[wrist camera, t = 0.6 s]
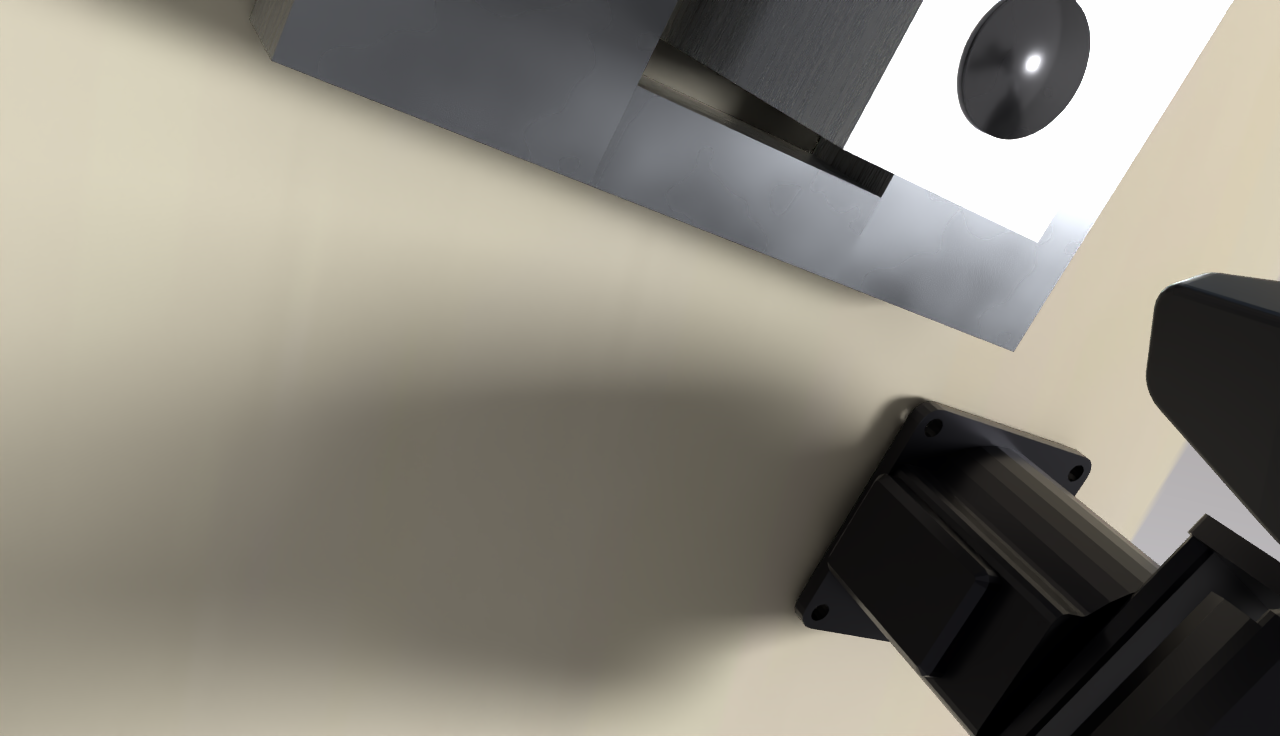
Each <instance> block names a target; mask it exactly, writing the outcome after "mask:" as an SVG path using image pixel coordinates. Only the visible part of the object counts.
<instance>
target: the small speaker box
mask: <svg viewBox="0 0 1280 736" xmlns="http://www.w3.org/2000/svg"><path fill="white" fill-rule="evenodd" d="M1185 1H1186V0H678V1H677V3H676V6H675V8H674V10H673V12H672V14H671V16H670V18H669V20H668V22H667V24H666V26H665V28H664V30H663V32H662V35H661V37H660V38H661V39H662V40H664V41H666V42H667V43H669V44H671V45H672V46H674V47H676V48H677V49H679V50H681V51H682V52H684V53H685V54H687V55H689V56H690V57H692V58H694V59H695V60H697V61H699V62H700V63H702V64H704V65H705V66H707V67H709V68H710V69H712V70H713V71H715V72H717V73H718V74H720V75H722V76H723V77H725V78H727V79H728V80H730V81H732V82H733V83H735V84H737V85H738V86H740V87H741V88H743V89H745V90H746V91H748V92H750V93H751V94H753V95H755V96H756V97H758V98H760V99H761V100H763V101H765V102H766V103H768V104H769V105H771V106H773V107H774V108H776V109H778V110H779V111H781V112H783V113H784V114H786V115H788V116H789V117H791V118H792V119H794V120H796V121H797V122H799V123H801V124H802V125H804V126H806V127H807V128H809V129H811V130H812V131H814V132H816V133H817V134H819V135H820V136H822V137H824V138H825V139H827V140H829V141H830V142H832V143H834V144H835V145H837V146H839V147H840V148H842V149H844V150H846V151H848V152H850V153H852V154H854V155H856V156H858V157H860V158H862V159H865V160H867V161H869V162H871V163H873V164H875V165H877V166H879V167H881V168H883V169H885V170H888V171H890V172H892V173H894V174H896V175H898V176H900V177H902V178H904V179H906V180H908V181H910V182H913V183H915V184H917V185H919V186H921V187H923V188H925V189H927V190H929V191H931V192H933V193H936V194H938V195H940V196H942V197H944V198H946V199H948V200H950V201H952V202H954V203H956V204H959V205H961V206H963V207H965V208H967V209H969V210H971V211H973V212H975V213H977V214H979V215H981V216H984V217H986V218H988V219H990V220H992V221H994V222H996V223H998V224H1000V225H1002V226H1004V227H1007V228H1009V229H1011V230H1013V231H1015V232H1017V233H1019V234H1021V235H1023V236H1025V237H1027V238H1029V239H1032V240H1034V241H1036V242H1038V241H1039V239H1040V238H1041V236H1042V234H1043V233H1044V231H1045V229H1046V228H1047V226H1048V225H1049V223H1050V221H1051V220H1052V218H1053V216H1054V215H1055V213H1056V212H1057V210H1058V208H1059V207H1060V205H1061V203H1062V202H1063V200H1064V198H1065V197H1066V195H1067V194H1068V192H1069V190H1070V189H1071V187H1072V185H1073V184H1074V182H1075V181H1076V179H1077V177H1078V176H1079V174H1080V172H1081V171H1082V169H1083V167H1084V166H1085V164H1086V163H1087V161H1088V159H1089V158H1090V156H1091V154H1092V153H1093V151H1094V150H1095V148H1096V146H1097V145H1098V143H1099V141H1100V140H1101V138H1102V136H1103V135H1104V133H1105V132H1106V130H1107V128H1108V127H1109V125H1110V123H1111V122H1112V120H1113V119H1114V117H1115V115H1116V114H1117V112H1118V110H1119V109H1120V107H1121V105H1122V104H1123V102H1124V101H1125V99H1126V97H1127V96H1128V94H1129V92H1130V91H1131V89H1132V87H1133V86H1134V84H1135V83H1136V81H1137V79H1138V78H1139V76H1140V74H1141V73H1142V71H1143V70H1144V68H1145V66H1146V65H1147V63H1148V61H1149V60H1150V58H1151V56H1152V55H1153V53H1154V52H1155V50H1156V48H1157V47H1158V45H1159V43H1160V42H1161V40H1162V39H1163V37H1164V35H1165V34H1166V32H1167V30H1168V29H1169V27H1170V25H1171V24H1172V22H1173V21H1174V19H1175V17H1176V16H1177V14H1178V12H1179V11H1180V9H1181V8H1182V6H1183V4H1184V3H1185Z"/></svg>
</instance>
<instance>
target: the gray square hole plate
mask: <svg viewBox="0 0 1280 736" xmlns="http://www.w3.org/2000/svg"><path fill="white" fill-rule="evenodd" d="M677 1H678V0H256V2H255V5H254V7H253V10H252V13H251V15H250V18H249V19H250V21H251V23H252V25H253V27H254V29H255V31H256V32H257V34H258V36H259V38H260V40H261V42H262V44H263V46H264V48H265V49H266V51H267V53H268V55H269V57H270V59H271V61H274V62H276V63H279V64H281V65H284V66H287V67H289V68H292V69H294V70H297V71H299V72H302V73H304V74H307V75H309V76H312V77H315V78H317V79H320V80H322V81H325V82H327V83H330V84H332V85H335V86H338V87H340V88H343V89H345V90H348V91H350V92H353V93H355V94H358V95H360V96H363V97H366V98H368V99H371V100H373V101H376V102H378V103H381V104H383V105H386V106H388V107H391V108H394V109H396V110H399V111H401V112H404V113H406V114H409V115H411V116H414V117H417V118H419V119H422V120H424V121H427V122H429V123H432V124H434V125H437V126H439V127H442V128H445V129H447V130H450V131H452V132H455V133H457V134H460V135H462V136H465V137H467V138H470V139H473V140H475V141H478V142H480V143H483V144H485V145H488V146H490V147H493V148H496V149H498V150H501V151H503V152H506V153H508V154H511V155H513V156H516V157H518V158H521V159H524V160H526V161H529V162H531V163H534V164H536V165H539V166H541V167H544V168H546V169H549V170H552V171H554V172H557V173H559V174H562V175H564V176H567V177H569V178H572V179H575V180H577V181H580V182H582V183H585V184H587V185H590V186H592V187H595V188H597V189H600V190H603V191H605V192H608V193H610V194H613V195H615V196H618V197H620V198H623V199H625V200H628V201H631V202H633V203H636V204H638V205H641V206H643V207H646V208H648V209H651V210H654V211H656V212H659V213H661V214H664V215H666V216H669V217H671V218H674V219H676V220H679V221H682V222H684V223H687V224H689V225H692V226H694V227H697V228H699V229H702V230H704V231H707V232H710V233H712V234H715V235H717V236H720V237H722V238H725V239H727V240H730V241H733V242H735V243H738V244H740V245H743V246H745V247H748V248H750V249H753V250H755V251H758V252H761V253H763V254H766V255H768V256H771V257H773V258H776V259H778V260H781V261H783V262H786V263H789V264H791V265H794V266H796V267H799V268H801V269H804V270H806V271H809V272H812V273H814V274H817V275H819V276H822V277H824V278H827V279H829V280H832V281H834V282H837V283H840V284H842V285H845V286H847V287H850V288H852V289H855V290H857V291H860V292H862V293H865V294H868V295H870V296H873V297H875V298H878V299H880V300H883V301H885V302H888V303H890V304H893V305H896V306H898V307H901V308H903V309H906V310H908V311H911V312H913V313H916V314H919V315H921V316H924V317H926V318H929V319H931V320H934V321H936V322H939V323H941V324H944V325H947V326H949V327H952V328H954V329H957V330H959V331H962V332H964V333H967V334H969V335H972V336H975V337H977V338H980V339H982V340H985V341H987V342H990V343H992V344H995V345H998V346H1000V347H1003V348H1005V349H1008V350H1010V351H1013V352H1014V350H1015V349H1016V347H1017V346H1018V344H1019V342H1020V341H1021V339H1022V338H1023V336H1024V334H1025V333H1026V331H1027V330H1028V328H1029V326H1030V325H1031V323H1032V322H1033V320H1034V318H1035V317H1036V315H1037V314H1038V312H1039V310H1040V309H1041V307H1042V306H1043V304H1044V302H1045V301H1046V299H1047V298H1048V296H1049V294H1050V293H1051V291H1052V290H1053V288H1054V286H1055V285H1056V283H1057V282H1058V280H1059V278H1060V277H1061V275H1062V274H1063V272H1064V270H1065V269H1066V267H1067V266H1068V264H1069V262H1070V261H1071V259H1072V258H1073V256H1074V254H1075V253H1076V251H1077V250H1078V248H1079V246H1080V245H1081V243H1082V242H1083V240H1084V238H1085V237H1086V235H1087V234H1088V232H1089V230H1090V229H1091V227H1092V226H1093V224H1094V222H1095V221H1096V219H1097V217H1098V216H1099V214H1100V213H1101V211H1102V209H1103V208H1104V206H1105V205H1106V203H1107V201H1108V200H1109V198H1110V197H1111V195H1112V193H1113V192H1114V190H1115V189H1116V187H1117V185H1118V184H1119V182H1120V181H1121V179H1122V177H1123V176H1124V174H1125V173H1126V171H1127V169H1128V168H1129V166H1130V165H1131V163H1132V161H1133V160H1134V158H1135V157H1136V155H1137V153H1138V152H1139V150H1140V149H1141V147H1142V145H1143V144H1144V142H1145V141H1146V139H1147V137H1148V136H1149V134H1150V133H1151V131H1152V129H1153V128H1154V126H1155V125H1156V123H1157V121H1158V120H1159V118H1160V117H1161V115H1162V113H1163V112H1164V110H1165V109H1166V107H1167V105H1168V104H1169V102H1170V101H1171V99H1172V97H1173V96H1174V94H1175V93H1176V91H1177V89H1178V88H1179V86H1180V85H1181V83H1182V81H1183V80H1184V78H1185V77H1186V75H1187V73H1188V72H1189V70H1190V69H1191V67H1192V65H1193V64H1194V62H1195V61H1196V59H1197V57H1198V56H1199V54H1200V53H1201V51H1202V49H1203V48H1204V46H1205V45H1206V43H1207V41H1208V40H1209V38H1210V37H1211V35H1212V33H1213V32H1214V30H1215V29H1216V27H1217V25H1218V24H1219V22H1220V21H1221V19H1222V17H1223V16H1224V14H1225V12H1226V11H1227V9H1228V8H1229V6H1230V4H1231V3H1232V1H1233V0H1186V1H1185V3H1184V4H1183V6H1182V8H1181V9H1180V11H1179V12H1178V14H1177V16H1176V17H1175V19H1174V21H1173V22H1172V24H1171V25H1170V27H1169V29H1168V30H1167V32H1166V34H1165V35H1164V37H1163V39H1162V40H1161V42H1160V43H1159V45H1158V47H1157V48H1156V50H1155V52H1154V53H1153V55H1152V56H1151V58H1150V60H1149V61H1148V63H1147V65H1146V66H1145V68H1144V70H1143V71H1142V73H1141V74H1140V76H1139V78H1138V79H1137V81H1136V83H1135V84H1134V86H1133V87H1132V89H1131V91H1130V92H1129V94H1128V96H1127V97H1126V99H1125V101H1124V102H1123V104H1122V105H1121V107H1120V109H1119V110H1118V112H1117V114H1116V115H1115V117H1114V119H1113V120H1112V122H1111V123H1110V125H1109V127H1108V128H1107V130H1106V132H1105V133H1104V135H1103V136H1102V138H1101V140H1100V141H1099V143H1098V145H1097V146H1096V148H1095V150H1094V151H1093V153H1092V154H1091V156H1090V158H1089V159H1088V161H1087V163H1086V164H1085V166H1084V167H1083V169H1082V171H1081V172H1080V174H1079V176H1078V177H1077V179H1076V181H1075V182H1074V184H1073V185H1072V187H1071V189H1070V190H1069V192H1068V194H1067V195H1066V197H1065V198H1064V200H1063V202H1062V203H1061V205H1060V207H1059V208H1058V210H1057V212H1056V213H1055V215H1054V216H1053V218H1052V220H1051V221H1050V223H1049V225H1048V226H1047V228H1046V229H1045V231H1044V233H1043V234H1042V236H1041V238H1040V239H1039V241H1038V242H1036V241H1034V240H1032V239H1029V238H1027V237H1025V236H1023V235H1021V234H1019V233H1017V232H1015V231H1013V230H1011V229H1009V228H1007V227H1004V226H1002V225H1000V224H998V223H996V222H994V221H992V220H990V219H988V218H986V217H984V216H981V215H979V214H977V213H975V212H973V211H971V210H969V209H967V208H965V207H963V206H961V205H959V204H956V203H954V202H952V201H950V200H948V199H946V198H944V197H942V196H940V195H938V194H936V193H933V192H931V191H929V190H927V189H925V188H923V187H921V186H919V185H917V184H915V183H913V182H910V181H908V180H906V179H904V178H902V177H900V176H898V175H896V174H894V173H892V172H890V171H888V170H885V169H883V168H881V167H879V166H877V165H875V164H873V163H871V162H869V161H867V160H865V159H862V158H860V157H858V156H856V155H854V154H852V153H850V152H848V151H846V150H844V149H842V148H840V147H839V146H837V145H835V144H834V143H832V142H830V141H829V140H827V139H825V138H824V137H822V136H821V138H820V140H819V142H818V144H817V146H816V148H815V149H814V151H813V153H809V152H807V151H805V150H803V149H801V148H799V147H797V146H794V145H792V144H790V143H788V142H786V141H784V140H782V139H779V138H777V137H775V136H773V135H771V134H769V133H767V132H764V131H762V130H760V129H758V128H756V127H754V126H752V125H749V124H747V123H745V122H743V121H741V120H739V119H737V118H734V117H732V116H730V115H728V114H726V113H724V112H722V111H719V110H717V109H715V108H713V107H711V106H709V105H707V104H705V103H702V102H700V101H698V100H696V99H694V98H692V97H690V96H687V95H685V94H683V93H681V92H679V91H677V90H675V89H672V88H670V87H668V86H666V85H664V84H662V83H660V82H657V81H655V80H653V79H651V78H649V77H647V76H645V75H642V74H643V72H644V70H645V68H646V66H647V64H648V62H649V59H650V57H651V55H652V53H653V51H654V49H655V47H656V45H657V43H658V41H659V39H660V37H661V35H662V32H663V30H664V28H665V26H666V24H667V22H668V20H669V18H670V16H671V14H672V12H673V10H674V8H675V6H676V3H677Z"/></svg>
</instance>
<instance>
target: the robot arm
mask: <svg viewBox="0 0 1280 736" xmlns="http://www.w3.org/2000/svg"><path fill="white" fill-rule="evenodd" d="M1146 382H1147V387H1148V390H1149V393H1150V395H1151V397H1152V399H1153V401H1154V403H1155V404H1156V405H1157V407H1158V408H1159V409H1160V410H1161V412H1162V413H1163V414H1164V415H1165V416H1166V417H1167V418H1168V420H1169V421H1170V422H1171V423H1172V424H1173V425H1174V426H1175V427H1176V429H1177V430H1178V431H1179V432H1180V433H1181V434H1182V435H1183V437H1184V438H1185V439H1186V440H1187V441H1188V442H1189V443H1190V445H1191V446H1192V447H1193V448H1194V449H1195V450H1196V451H1197V452H1198V454H1199V455H1200V456H1201V457H1202V458H1203V459H1204V460H1205V461H1206V463H1207V464H1208V465H1209V466H1210V467H1211V468H1212V470H1214V472H1215V473H1216V474H1217V475H1218V476H1219V477H1220V479H1221V480H1222V481H1223V482H1224V483H1225V484H1226V485H1227V487H1228V488H1229V489H1230V490H1231V491H1232V492H1233V493H1234V494H1235V496H1236V497H1237V498H1238V499H1239V500H1240V501H1241V502H1242V504H1243V505H1244V506H1245V507H1246V508H1247V509H1248V510H1249V512H1250V513H1251V514H1252V515H1253V516H1254V517H1255V518H1256V519H1257V521H1258V522H1259V523H1260V524H1261V525H1262V526H1263V527H1264V528H1265V529H1266V530H1267V531H1268V533H1269V534H1270V535H1271V536H1272V537H1273V538H1274V539H1275V540H1276V541H1277V542H1278V543H1279V544H1280V281H1274V280H1266V279H1259V278H1252V277H1245V276H1238V275H1231V274H1224V273H1213V272H1212V273H1204V274H1201V275H1198V276H1195V277H1192V278H1189V279H1186V280H1183V281H1180V282H1177V283H1174V284H1171V285H1169V286H1168V287H1166V288H1165V289H1164V290H1162V291H1161V293H1160V295H1159V296H1158V298H1157V300H1156V303H1155V307H1154V314H1153V321H1152V329H1151V337H1150V345H1149V353H1148V360H1147V368H1146ZM930 421H931V423H930V424H929V425H928V426H927V427H926V425H927V424H928V423H929V422H930ZM1090 471H1091V462H1090V460H1089V459H1088V458H1086V457H1085V456H1084V455H1083V454H1081V453H1080V452H1079V451H1077V450H1076V449H1073V448H1070V447H1067V446H1064V445H1061V444H1058V443H1055V442H1052V441H1049V440H1046V439H1043V438H1040V437H1037V436H1034V435H1031V434H1028V433H1025V432H1022V431H1020V430H1017V429H1014V428H1011V427H1008V426H1005V425H1002V424H999V423H996V422H993V421H990V420H987V419H984V418H981V417H978V416H975V415H972V414H969V413H966V412H963V411H960V410H957V409H954V408H951V407H948V406H945V405H942V404H940V403H937V402H930V401H928V402H925V403H922V404H920V405H919V406H917V407H916V408H915V409H914V410H913V411H912V412H911V414H910V415H909V416H908V418H907V420H906V421H905V423H904V425H903V426H902V428H901V430H900V431H899V433H898V435H897V436H896V438H895V440H894V441H893V443H892V445H891V446H890V448H889V450H888V451H887V453H886V454H885V456H884V458H883V459H882V461H881V463H880V464H879V466H878V468H877V469H876V471H875V473H874V474H873V476H872V478H871V479H870V481H869V483H868V484H867V486H866V487H865V489H864V491H863V492H862V494H861V496H860V497H859V499H858V501H857V502H856V504H855V506H854V507H853V509H852V511H851V512H850V514H849V516H848V517H847V519H846V520H845V522H844V524H843V525H842V527H841V529H840V530H839V532H838V534H837V535H836V537H835V539H834V540H833V542H832V544H831V545H830V547H829V549H828V550H827V552H826V554H825V555H824V557H823V558H822V560H821V562H820V563H819V565H818V567H817V568H816V570H815V572H814V573H813V575H812V577H811V578H810V580H809V582H808V583H807V585H806V587H805V588H804V590H803V591H802V593H801V595H800V596H799V598H798V600H797V602H796V605H795V613H796V614H797V616H798V617H799V618H800V620H801V621H802V622H803V624H804V625H805V626H806V627H809V628H811V629H817V630H823V631H829V632H835V633H841V634H847V635H853V636H858V637H864V638H870V639H876V640H882V641H888V642H891V644H892V645H893V646H894V647H895V648H896V649H897V651H898V652H899V653H900V654H901V655H902V656H903V658H904V659H905V660H906V661H907V662H908V663H909V665H910V666H911V667H912V668H913V669H914V670H915V672H916V673H917V674H918V675H919V676H920V678H921V679H922V680H923V681H924V682H925V683H926V685H927V686H928V687H929V688H930V689H931V690H932V692H933V693H934V694H935V695H936V696H937V697H938V699H939V700H940V701H941V702H942V703H943V704H944V706H945V707H946V708H947V709H948V710H949V712H950V713H951V714H952V715H953V716H954V717H955V719H956V720H957V721H958V722H959V723H960V724H961V726H962V727H963V728H964V729H965V730H966V731H967V733H968V734H969V735H970V736H1280V562H1279V561H1277V560H1276V559H1274V558H1273V557H1271V556H1270V555H1268V554H1267V553H1265V552H1264V551H1262V550H1261V549H1259V548H1258V547H1256V546H1255V545H1253V544H1251V543H1250V542H1248V541H1247V540H1245V539H1244V538H1242V537H1241V536H1239V535H1238V534H1236V533H1235V532H1233V531H1232V530H1230V529H1229V528H1227V527H1226V526H1224V525H1222V524H1221V523H1220V522H1218V521H1217V520H1215V519H1214V518H1212V517H1210V516H1209V515H1207V514H1205V515H1204V516H1203V517H1202V518H1201V519H1200V520H1199V521H1198V522H1197V523H1196V524H1195V525H1194V526H1193V527H1192V528H1191V529H1190V530H1189V531H1188V533H1189V534H1190V537H1189V538H1188V539H1187V540H1186V541H1185V542H1184V543H1183V544H1182V545H1181V546H1180V547H1179V548H1178V549H1177V550H1176V551H1175V552H1174V553H1173V554H1172V555H1171V556H1170V557H1169V558H1168V559H1167V560H1166V561H1165V562H1164V563H1163V564H1162V565H1161V566H1159V565H1158V564H1157V563H1156V562H1154V561H1153V560H1152V559H1151V558H1150V557H1148V556H1147V555H1146V554H1145V553H1143V552H1142V551H1141V550H1140V549H1138V548H1137V547H1136V546H1135V545H1134V544H1132V543H1131V542H1130V541H1129V540H1127V539H1126V538H1125V537H1124V536H1122V535H1121V534H1120V533H1119V532H1118V531H1116V530H1115V529H1114V528H1113V527H1111V526H1110V525H1109V524H1108V523H1107V522H1105V521H1104V520H1103V519H1102V518H1100V517H1099V516H1098V515H1097V514H1095V513H1094V512H1093V511H1092V510H1091V509H1089V508H1088V507H1087V506H1086V505H1084V504H1083V503H1082V502H1081V501H1079V500H1078V499H1077V498H1076V497H1075V495H1076V493H1077V492H1078V490H1079V489H1080V487H1081V486H1082V485H1083V483H1084V482H1085V480H1086V479H1087V477H1088V475H1089V473H1090Z"/></svg>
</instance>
